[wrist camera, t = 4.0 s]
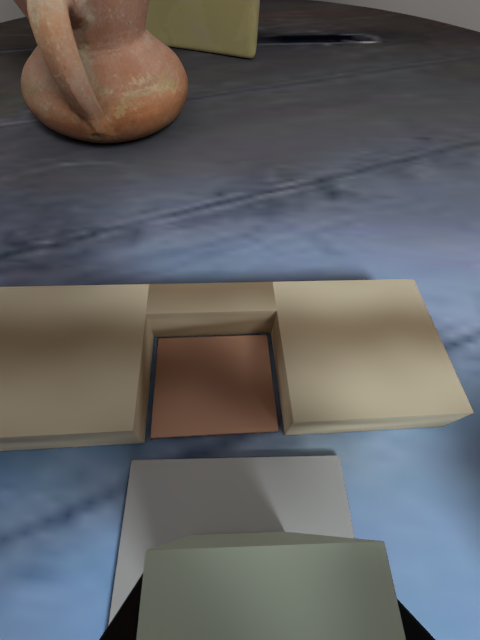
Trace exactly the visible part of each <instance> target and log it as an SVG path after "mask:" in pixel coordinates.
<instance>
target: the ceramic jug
mask: <svg viewBox="0 0 480 640" xmlns="http://www.w3.org/2000/svg"><path fill="white" fill-rule="evenodd" d="M14 1H15V3H16V4H17V5H18V7H19V8H20V9H21V11H22V12H23V13H24V14H25V16H26V17H27V18H28V20H29V21H30V25H31V28H32V31H33V34H34V37H35V39H36V42H37V47H36V48H35V50H34V51H33V52H32V54H31V55H30V57H29V58H28V60H27V62H26V63H25V65H24V68H23V71H22V75H21V89H22V94H23V97H24V100H25V102H26V104H27V106H28V107H29V109H30V110H31V112H32V113H33V114H34V115H35V116H36V117H37V118H38V120H40V121H41V122H42V123H43V124H44V125H45V126H47V127H48V128H50V129H52V130H53V131H56V132H57V133H60V134H62V135H65V136H68V137H71V138H74V139H77V140H81V141H87V142H93V143H118V142H127V141H132V140H137V139H140V138H144V137H147V136H149V135H152V134H154V133H156V132H158V131H160V130H162V129H163V128H165V127H166V126H168V125H169V124H170V123H171V122H172V121H174V120H175V119H176V117H177V116H178V115H179V113H180V112H181V110H182V109H183V107H184V104H185V101H186V98H187V92H188V80H187V75H186V72H185V69H184V67H183V65H182V63H181V61H180V60H179V58H178V57H177V55H176V54H175V53H174V52H173V51H172V50H171V49H170V48H169V47H168V46H167V45H165V44H164V43H163V42H161V41H160V40H159V39H157V38H156V37H155V36H153V35H152V34H151V33H150V32H149V31H148V30H146V28H145V23H146V17H147V12H148V6H149V0H14Z"/></svg>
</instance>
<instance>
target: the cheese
mask: <svg viewBox="0 0 480 640" xmlns="http://www.w3.org/2000/svg"><path fill="white" fill-rule="evenodd" d="M259 4H260V0H149V6H148V12H147V17H146V23H145V28H146V30H148V31H149V32H150V33H151V34H152V35H153V36H155V37H156V38H157V39H159V40H160V41H161V42H163V43H164V44H165V45H167V46H168V47H173V48H181V49H189V50H196V51H203V52H209V53H216V54H222V55H229V56H235V57H241V58H248V59H250V58H253V57H254V56H255V53H256V45H257V31H258V17H259Z"/></svg>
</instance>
